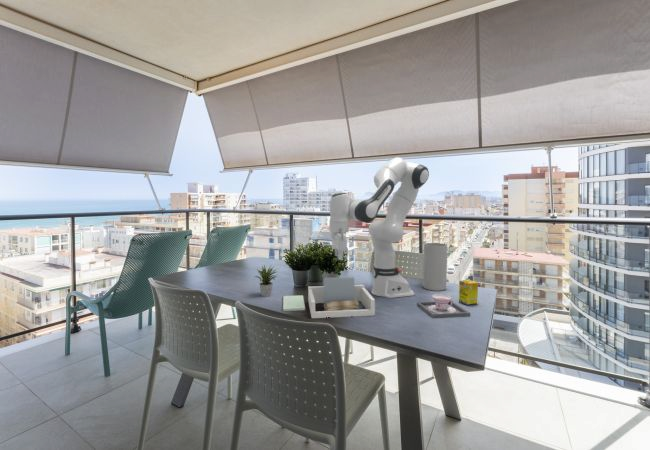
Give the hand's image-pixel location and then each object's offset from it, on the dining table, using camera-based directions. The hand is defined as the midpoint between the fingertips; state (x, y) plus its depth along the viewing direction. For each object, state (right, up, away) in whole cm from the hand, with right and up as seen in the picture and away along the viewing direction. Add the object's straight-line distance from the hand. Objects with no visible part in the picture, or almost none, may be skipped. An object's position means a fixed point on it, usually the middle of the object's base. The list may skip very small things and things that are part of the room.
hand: (338, 257), depth 153 cm
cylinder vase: (+56, -21, +34) cm, 69 cm away
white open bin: (0, -24, 0) cm, 24 cm away
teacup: (+47, -24, -2) cm, 53 cm away
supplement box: (+63, -23, +7) cm, 68 cm away
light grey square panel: (0, -24, +2) cm, 24 cm away
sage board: (-22, -23, +7) cm, 33 cm away
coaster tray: (+47, -24, -3) cm, 53 cm away
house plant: (-37, -22, +21) cm, 48 cm away
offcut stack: (+1, -24, -4) cm, 25 cm away
